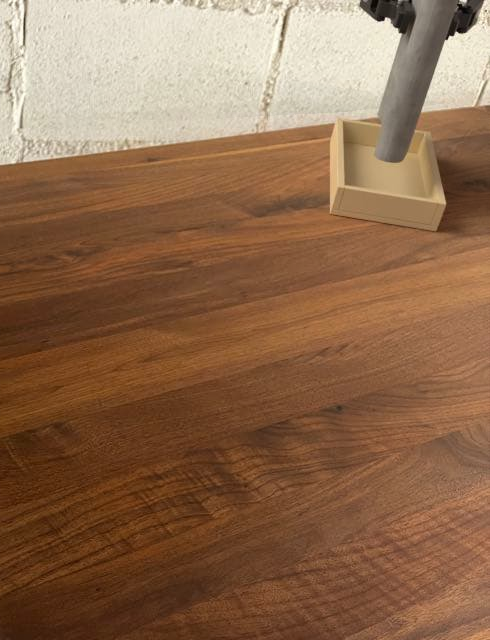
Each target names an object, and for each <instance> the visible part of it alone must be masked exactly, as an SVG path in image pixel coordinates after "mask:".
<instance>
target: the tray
mask: <svg viewBox="0 0 490 640" xmlns="http://www.w3.org/2000/svg"><path fill="white" fill-rule="evenodd" d="M381 130H382V126H381V123H373V122H368V121H362V120H355V119H348V118H342V117H336V118H335V122H334V126H333V130H332V132H331V137H330V141H329V214H330V215H333V216H340V217H345V218H346V217H347V218H350V219H351V218H352V219H358V220H364V221H369V222H374V223H375V222H376V223H380V224H381V223H382V224H388V225H393V226H400V227H406V228H413V229H418V230H424V231H430V232H437V230H438V227H439V225H440V223H441V220H442V217H443V214H444V212H445V209H446V207H447V201H446V197H445V192H444V186H443V183H442V179H441V174H440V169H439V164H438V160H437V156H436V152H435V147H434V142H433V139H432V134H431V132H430V131H426V130H419V129H415V131H414V134H413V137H412V140H411V143H410V146H409V149H408V152H407V154H406V156H405V158H404V160H403V161H402V162H399V163H389V162H385V161H382V160H379V159H378V158H376V157H375V156H374V152H375V149H376V146H377V142H378V139H379V136H380V133H381Z"/></svg>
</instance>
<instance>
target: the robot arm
mask: <svg viewBox="0 0 490 640" xmlns="http://www.w3.org/2000/svg"><path fill="white" fill-rule="evenodd" d="M411 2H412V0H359V3H358V7H359V8H360V9H362V10H363V11H364V12H365V13H366V14H367V15H369V17H371V18H372V20H375V21H376V22H378V23H381V22H385V21H386V19H389V20H390V22H389V24H391V25H392V27H393V28H395V29H397V32H398V34H401V35H402V34H406V31H407V28H408V25H409V21H410V18H411V15H412V9H411ZM484 3H485V0H466V2H465V1H461V0H458V3H457V6H456V9H455V12H454V15H453V18H452V21H451V24H450V27H449V30H448V33H447V36H446V39H445V41H449V38H450V37H454V36H456V33H457V34H458V35H459V34H460V35H463V34H467V33H468V32H469V31H470V30H471V29H472V28H473V27H474V26H475V25H477V22H478V19H479V16H480V15H481V11H482V9H483V6H484Z"/></svg>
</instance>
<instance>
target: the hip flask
mask: <svg viewBox="0 0 490 640" xmlns="http://www.w3.org/2000/svg"><path fill="white" fill-rule="evenodd" d="M457 3H458V0H412V2H411V9H412V15H411V18H410V21H409V25H408V28H407V31H406V34H401V35H400V38H399V43H398V45H397V48H396V52H395V55H394V59H393V62H392V65H391V69H390V71H389V74H388V78H387V81H386V85H385V88H384V91H383V94H382V98H381V100H380V104H379V107H378V111H377V116H378V119H379V122H380V124H381V126H382V130H381V133H380V136H379V139H378V142H377V146H376V149H375V152H374V156H375V157H376V158H378V159H379V160H382V161H385V162H389V163H399V162H402V161H403V160H404V158H405V156H406V154H407V152H408V149H409V146H410V143H411V140H412V137H413V134H414V131H415V130H416V129H417V128H416V127H417V126H418V122H419V119H420V116H421V113H422V110H423V107H424V105H425V101H426V98H427V95H428V93H429V90H430V87H431V83H432V82H433V81H432V80H433V77H434V75H435V71H436V69H437V65H438V64H439V63H438V62H439V60H440V57H441V54H442V51H443V47H444V46H445V45H444V44H445V42H446V40H445V39H446V36H447V33H448V30H449V27H450V24H451V21H452V18H453V15H454V12H455V9H456V6H457Z"/></svg>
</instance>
